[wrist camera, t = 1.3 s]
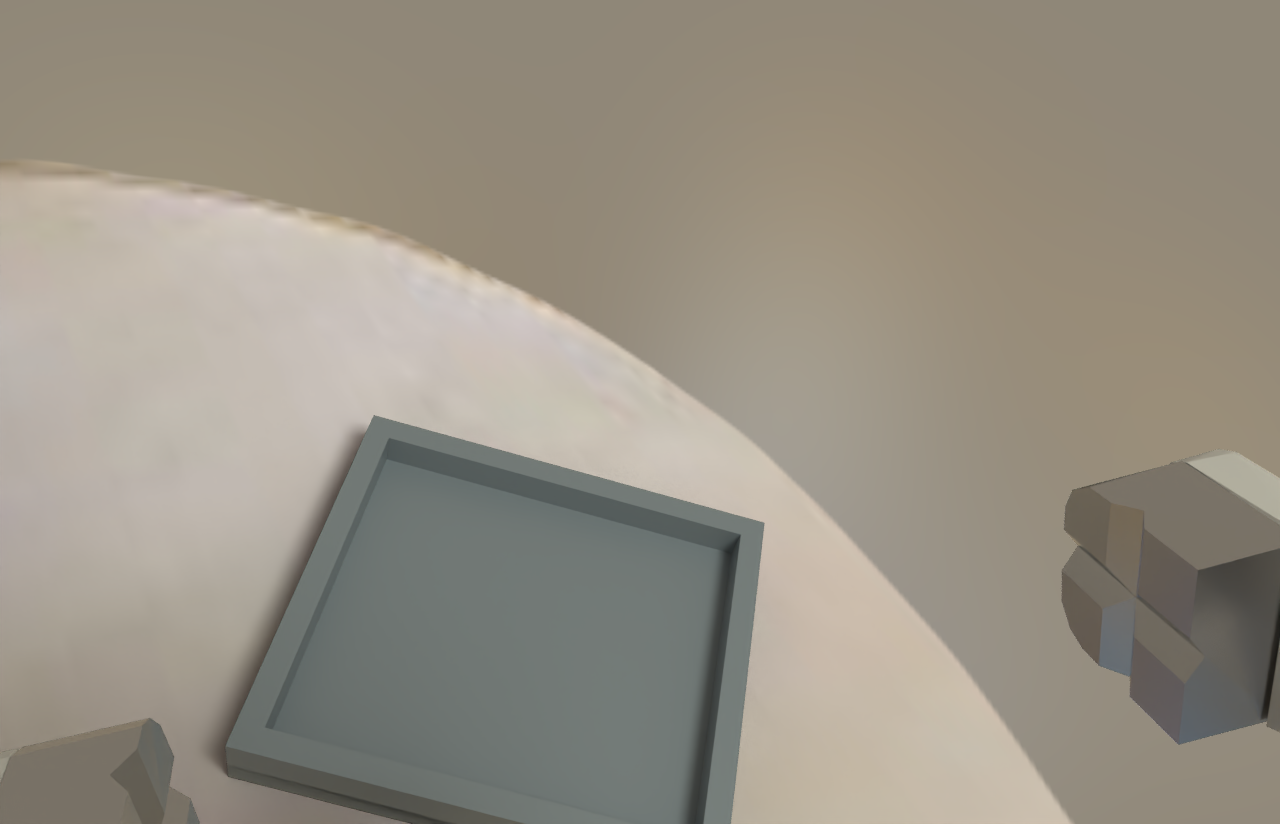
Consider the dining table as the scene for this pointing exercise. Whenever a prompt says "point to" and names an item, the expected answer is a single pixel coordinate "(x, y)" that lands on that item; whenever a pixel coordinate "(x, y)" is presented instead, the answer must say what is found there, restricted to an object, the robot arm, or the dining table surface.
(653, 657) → the tray
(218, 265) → the dining table surface
